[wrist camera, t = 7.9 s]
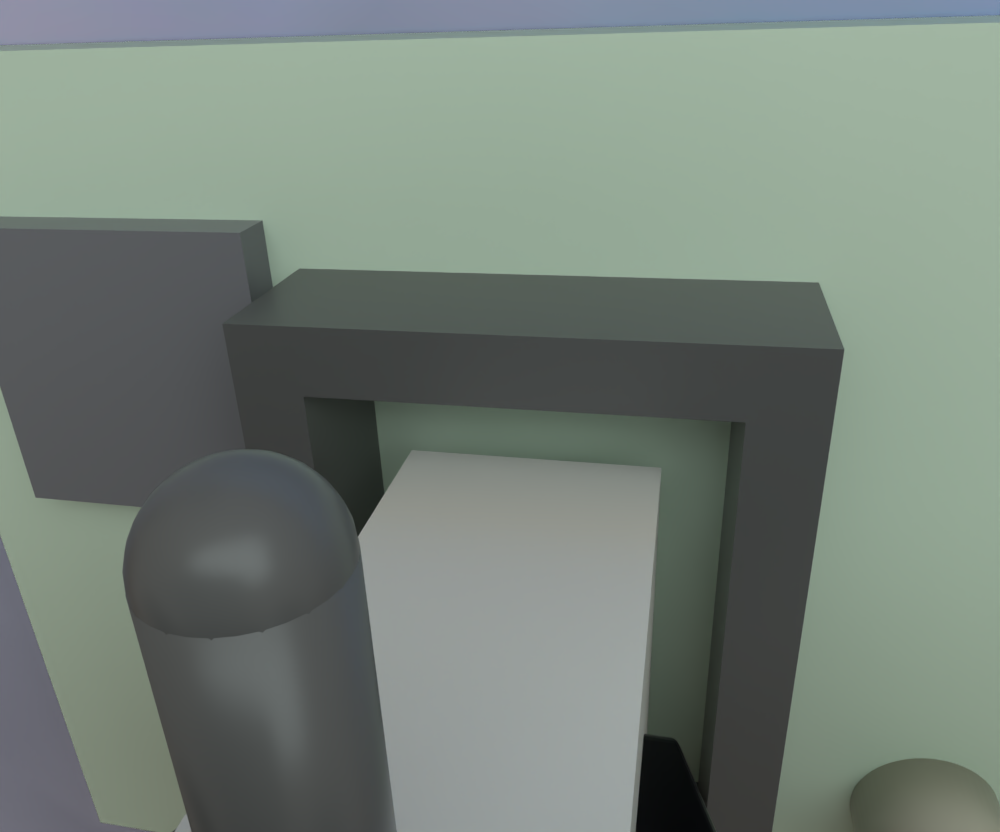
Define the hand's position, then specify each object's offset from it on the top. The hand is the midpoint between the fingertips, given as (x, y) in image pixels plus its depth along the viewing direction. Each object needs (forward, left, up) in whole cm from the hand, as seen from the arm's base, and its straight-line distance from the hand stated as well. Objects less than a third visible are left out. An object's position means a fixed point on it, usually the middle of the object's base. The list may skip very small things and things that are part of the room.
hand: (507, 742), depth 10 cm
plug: (0, -1, -2) cm, 2 cm away
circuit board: (0, 0, -4) cm, 4 cm away
